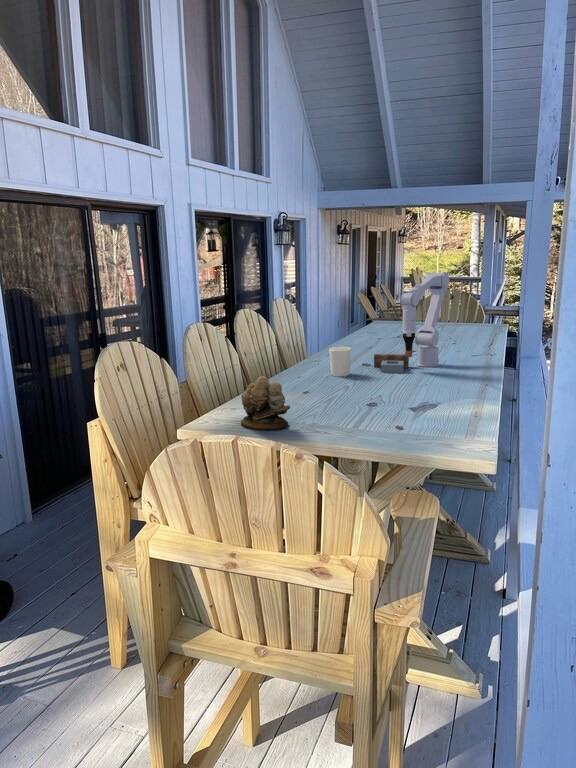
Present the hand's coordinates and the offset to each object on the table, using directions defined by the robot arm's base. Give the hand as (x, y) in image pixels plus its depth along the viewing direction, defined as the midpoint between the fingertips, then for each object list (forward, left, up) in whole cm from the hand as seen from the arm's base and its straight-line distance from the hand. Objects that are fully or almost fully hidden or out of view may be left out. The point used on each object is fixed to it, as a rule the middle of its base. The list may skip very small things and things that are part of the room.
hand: (408, 349), depth 247 cm
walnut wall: (+8, -8, -10) cm, 15 cm away
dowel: (0, 0, -3) cm, 3 cm away
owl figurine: (+45, +83, -10) cm, 95 cm away
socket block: (+7, -2, -10) cm, 13 cm away
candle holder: (+30, +9, -10) cm, 33 cm away
